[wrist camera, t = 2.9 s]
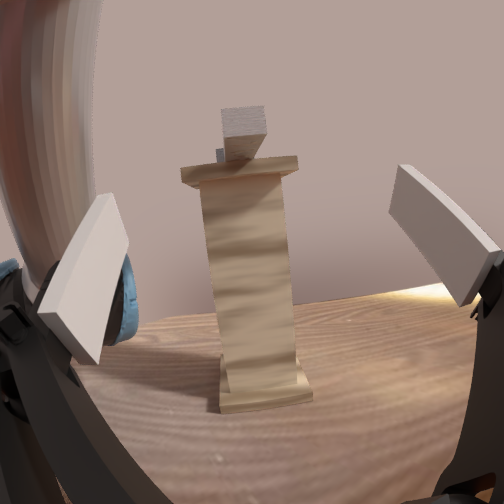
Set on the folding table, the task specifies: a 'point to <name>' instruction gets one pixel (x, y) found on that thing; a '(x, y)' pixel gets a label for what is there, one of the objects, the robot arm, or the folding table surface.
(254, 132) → the grey long bar
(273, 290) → the pedestal
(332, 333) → the folding table surface
